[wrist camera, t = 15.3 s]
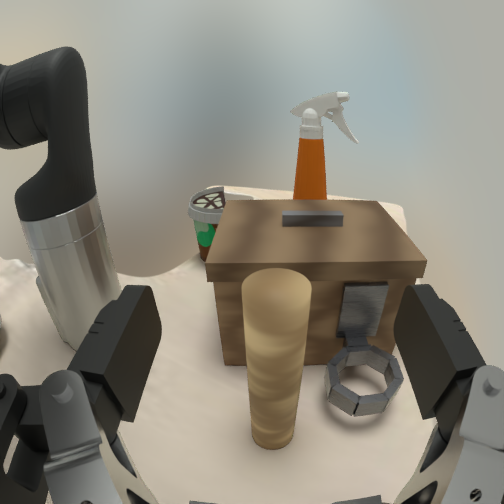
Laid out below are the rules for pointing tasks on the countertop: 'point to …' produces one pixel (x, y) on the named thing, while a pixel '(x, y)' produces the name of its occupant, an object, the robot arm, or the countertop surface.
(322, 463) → the countertop surface
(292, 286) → the tan wooden cylinder
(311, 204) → the toolbox
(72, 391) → the robot arm
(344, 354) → the hasp
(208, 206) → the food container
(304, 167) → the spray bottle
